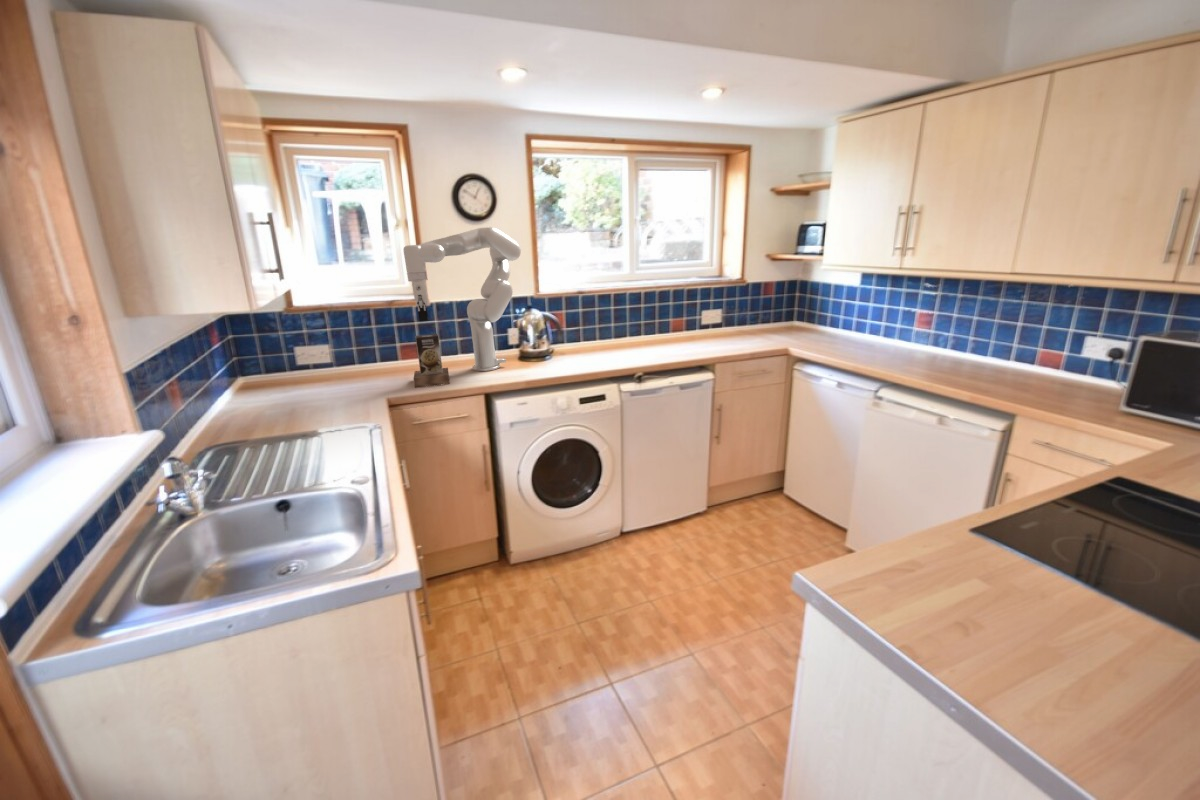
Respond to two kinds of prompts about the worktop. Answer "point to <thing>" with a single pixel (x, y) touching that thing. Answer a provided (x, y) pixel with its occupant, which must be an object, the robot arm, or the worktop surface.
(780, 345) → the worktop surface
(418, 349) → the coffee box
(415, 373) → the walnut plinth
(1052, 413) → the worktop surface
